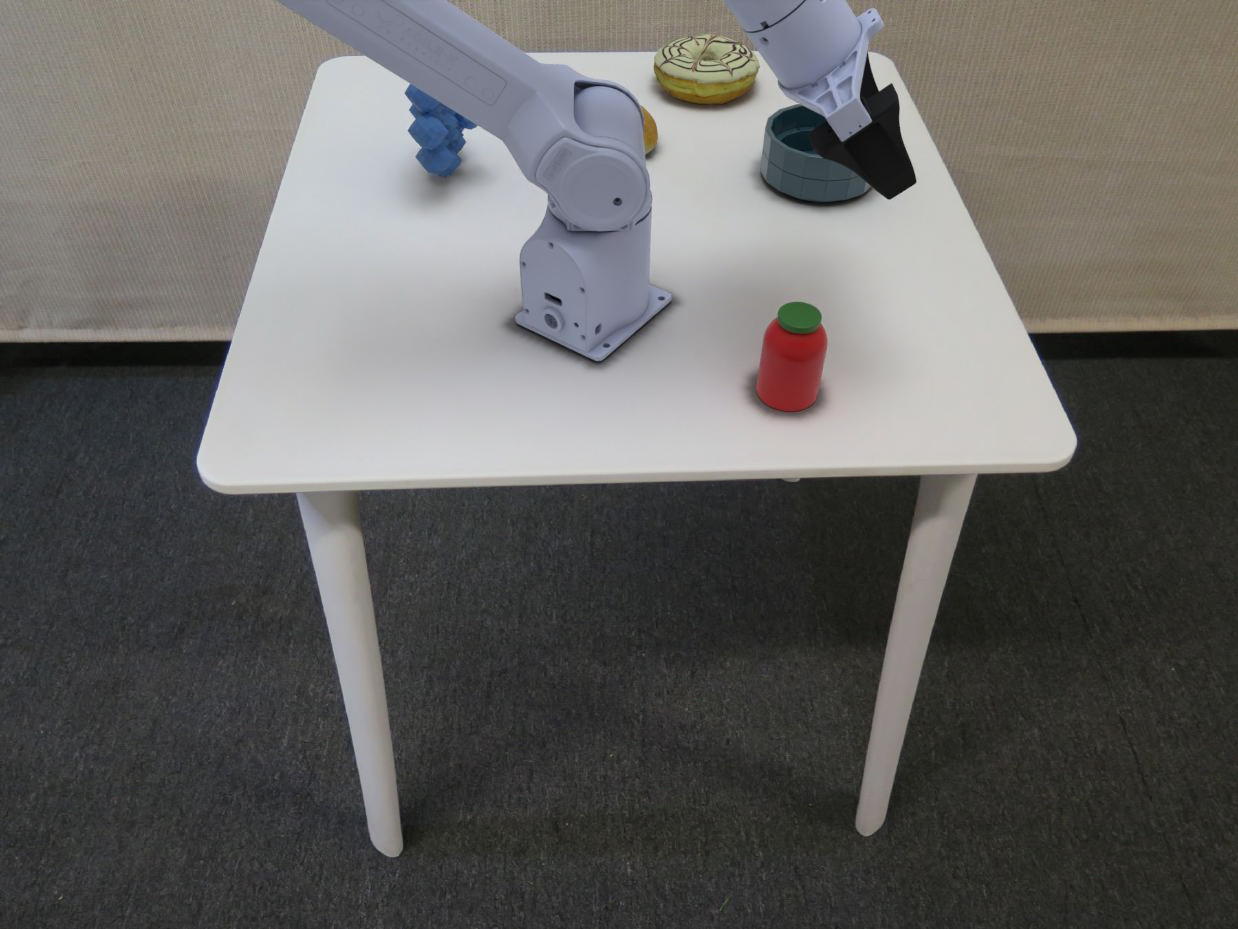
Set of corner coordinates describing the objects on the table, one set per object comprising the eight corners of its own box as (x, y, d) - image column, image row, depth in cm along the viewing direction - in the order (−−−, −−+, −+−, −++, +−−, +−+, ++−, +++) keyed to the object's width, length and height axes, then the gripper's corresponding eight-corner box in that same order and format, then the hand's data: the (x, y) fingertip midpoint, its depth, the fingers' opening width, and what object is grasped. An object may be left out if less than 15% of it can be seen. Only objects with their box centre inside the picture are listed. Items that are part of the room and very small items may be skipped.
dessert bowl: (841, 219, 83) (850, 170, 80) (739, 182, 88) (744, 135, 84) (891, 171, 89) (902, 124, 86) (794, 138, 93) (800, 92, 90)
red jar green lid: (798, 420, 66) (813, 343, 61) (744, 395, 68) (755, 318, 63) (828, 386, 68) (844, 310, 64) (775, 363, 70) (787, 287, 65)
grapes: (485, 210, 84) (471, 72, 75) (405, 208, 84) (383, 69, 75) (501, 143, 92) (490, 11, 83) (429, 141, 92) (411, 9, 84)
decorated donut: (767, 72, 103) (772, 35, 100) (741, 117, 96) (745, 79, 93) (672, 56, 106) (674, 20, 103) (640, 99, 98) (641, 61, 96)
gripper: (866, -1, 52) (974, 180, 60) (819, -90, 62) (917, 74, 70) (753, 82, 55) (870, 244, 63) (726, -16, 65) (830, 133, 73)
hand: (888, 159), depth 66 cm, fingers open, 7 cm apart
